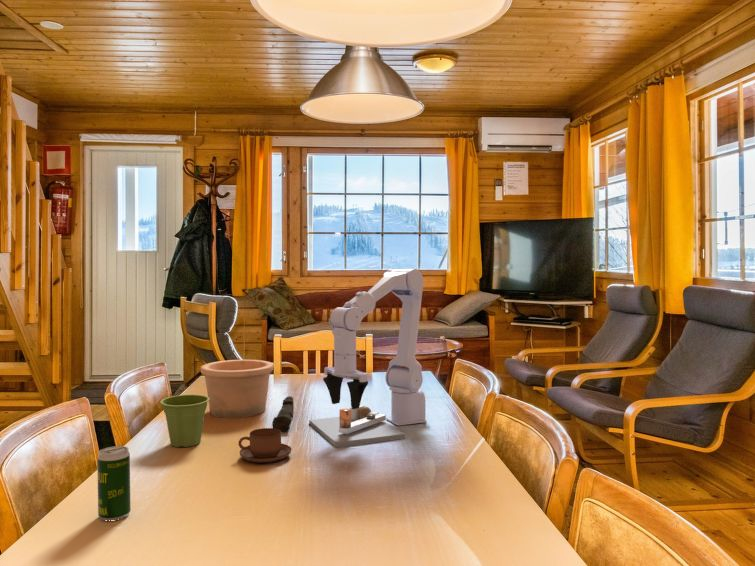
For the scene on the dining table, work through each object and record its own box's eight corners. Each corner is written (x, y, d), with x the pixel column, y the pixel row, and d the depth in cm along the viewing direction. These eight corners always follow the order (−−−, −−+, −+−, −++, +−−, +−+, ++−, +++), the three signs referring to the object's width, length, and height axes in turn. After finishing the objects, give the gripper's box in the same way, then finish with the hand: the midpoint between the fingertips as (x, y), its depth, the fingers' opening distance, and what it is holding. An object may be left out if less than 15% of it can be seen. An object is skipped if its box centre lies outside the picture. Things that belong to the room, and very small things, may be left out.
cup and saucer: (247, 470, 131) (246, 442, 131) (234, 454, 142) (233, 429, 141) (298, 461, 136) (298, 435, 136) (282, 447, 147) (282, 423, 147)
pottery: (222, 425, 167) (221, 374, 167) (189, 410, 184) (188, 364, 183) (287, 412, 182) (286, 365, 181) (251, 399, 198) (251, 357, 198)
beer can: (121, 507, 111) (121, 443, 110) (136, 515, 107) (135, 449, 107) (92, 516, 106) (91, 450, 106) (106, 525, 103) (105, 457, 103)
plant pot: (150, 447, 146) (149, 402, 146) (181, 434, 157) (181, 393, 157) (190, 453, 142) (189, 406, 142) (219, 439, 153) (219, 396, 153)
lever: (373, 417, 169) (373, 397, 168) (386, 420, 166) (386, 399, 166) (332, 432, 154) (332, 409, 154) (346, 435, 151) (346, 412, 151)
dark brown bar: (289, 433, 159) (290, 413, 159) (272, 433, 159) (272, 413, 159) (301, 412, 182) (301, 395, 182) (285, 412, 182) (285, 394, 182)
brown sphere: (368, 417, 171) (368, 404, 171) (373, 420, 168) (373, 407, 168) (356, 418, 170) (356, 405, 169) (361, 421, 166) (361, 408, 166)
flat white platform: (370, 417, 175) (370, 402, 175) (404, 438, 154) (404, 421, 154) (309, 424, 168) (309, 408, 168) (335, 447, 147) (335, 429, 147)
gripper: (315, 352, 155) (315, 403, 156) (352, 358, 145) (353, 413, 145) (335, 349, 160) (335, 399, 161) (373, 355, 150) (373, 408, 150)
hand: (345, 405), depth 153 cm, fingers open, 7 cm apart
